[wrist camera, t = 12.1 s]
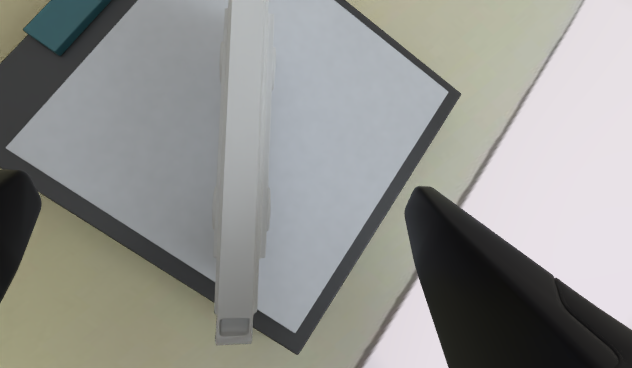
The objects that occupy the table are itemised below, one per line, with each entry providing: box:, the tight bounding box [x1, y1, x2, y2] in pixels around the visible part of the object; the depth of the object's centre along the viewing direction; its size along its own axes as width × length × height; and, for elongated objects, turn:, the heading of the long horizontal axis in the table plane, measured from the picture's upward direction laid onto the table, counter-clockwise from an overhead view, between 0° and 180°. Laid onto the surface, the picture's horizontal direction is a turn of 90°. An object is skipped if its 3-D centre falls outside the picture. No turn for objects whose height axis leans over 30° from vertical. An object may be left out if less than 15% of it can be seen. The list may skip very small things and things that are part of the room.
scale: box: [0, 0, 461, 355], centre depth 18 cm, size 19×17×3 cm
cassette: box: [212, 0, 276, 345], centre depth 12 cm, size 12×2×8 cm, turn 178°
